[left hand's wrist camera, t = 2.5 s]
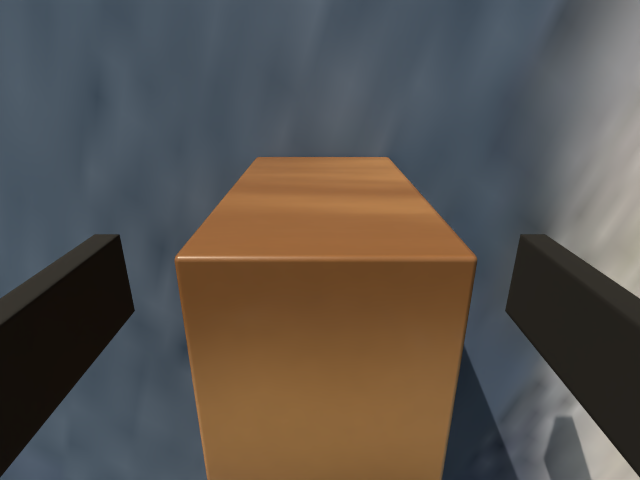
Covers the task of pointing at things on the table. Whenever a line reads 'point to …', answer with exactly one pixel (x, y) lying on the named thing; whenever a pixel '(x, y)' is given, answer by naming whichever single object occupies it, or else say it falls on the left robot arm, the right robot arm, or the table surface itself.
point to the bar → (325, 323)
